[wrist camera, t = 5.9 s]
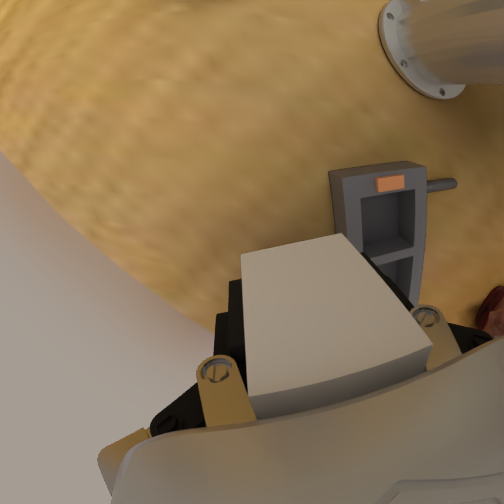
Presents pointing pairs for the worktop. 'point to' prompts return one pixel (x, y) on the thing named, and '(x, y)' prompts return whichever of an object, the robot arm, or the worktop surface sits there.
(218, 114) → the worktop surface
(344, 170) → the power strip
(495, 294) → the decorative planter
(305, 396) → the block
